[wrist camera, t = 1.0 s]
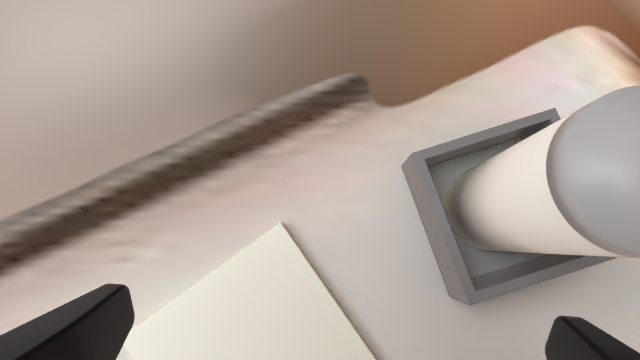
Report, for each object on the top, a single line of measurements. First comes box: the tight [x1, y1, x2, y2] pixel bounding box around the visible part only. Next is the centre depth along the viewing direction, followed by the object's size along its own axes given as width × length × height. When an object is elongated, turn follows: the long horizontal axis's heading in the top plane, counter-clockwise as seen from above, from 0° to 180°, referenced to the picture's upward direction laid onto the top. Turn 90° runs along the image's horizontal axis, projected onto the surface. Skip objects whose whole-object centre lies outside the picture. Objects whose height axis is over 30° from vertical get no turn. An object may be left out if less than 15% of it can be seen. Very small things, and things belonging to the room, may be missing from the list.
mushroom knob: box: [446, 86, 640, 258], centre depth 15 cm, size 5×5×11 cm
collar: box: [402, 108, 617, 305], centre depth 19 cm, size 8×8×3 cm
